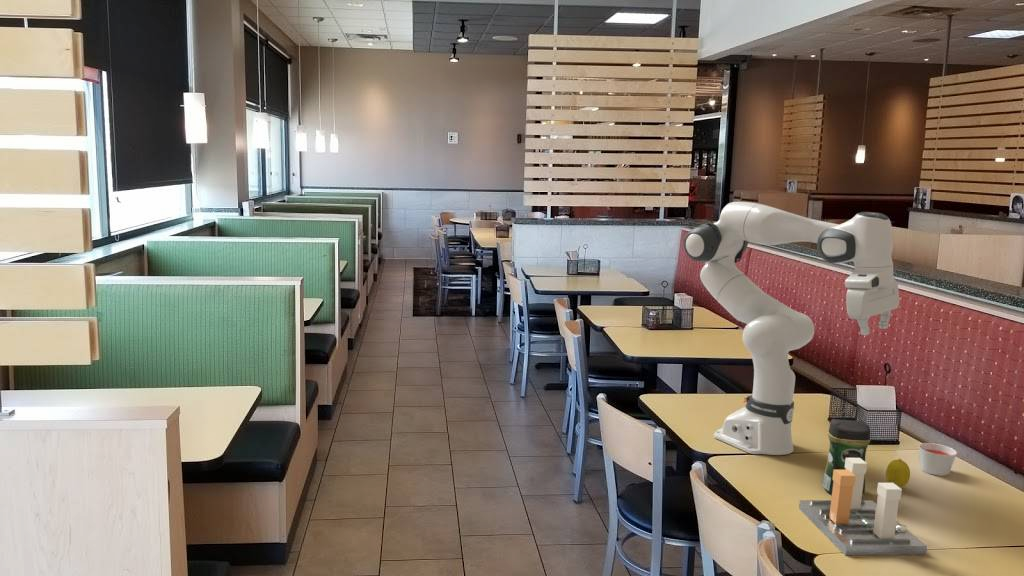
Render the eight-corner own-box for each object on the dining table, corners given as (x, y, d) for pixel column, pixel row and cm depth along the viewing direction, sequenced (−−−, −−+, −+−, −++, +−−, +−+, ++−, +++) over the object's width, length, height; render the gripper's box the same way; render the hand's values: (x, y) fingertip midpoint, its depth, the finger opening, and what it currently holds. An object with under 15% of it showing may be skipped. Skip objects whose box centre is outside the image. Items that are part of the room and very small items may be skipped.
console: (845, 555, 167) (846, 541, 166) (798, 508, 188) (800, 496, 188) (925, 554, 168) (927, 541, 168) (870, 508, 190) (872, 496, 190)
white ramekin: (917, 474, 213) (920, 451, 211) (914, 462, 221) (917, 440, 220) (955, 480, 209) (958, 457, 208) (951, 468, 218) (954, 446, 216)
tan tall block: (835, 524, 176) (841, 475, 174) (827, 517, 179) (833, 469, 177) (849, 524, 176) (855, 475, 174) (842, 517, 179) (848, 469, 177)
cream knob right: (880, 539, 170) (886, 489, 168) (871, 531, 173) (878, 482, 171) (895, 539, 170) (902, 489, 168) (886, 531, 173) (893, 482, 171)
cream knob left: (847, 509, 183) (853, 463, 181) (840, 503, 187) (845, 457, 185) (861, 509, 184) (867, 463, 182) (853, 503, 187) (859, 457, 185)
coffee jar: (857, 486, 203) (866, 417, 199) (867, 499, 195) (876, 427, 192) (818, 483, 204) (826, 414, 200) (826, 496, 196) (835, 424, 193)
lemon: (910, 494, 199) (914, 464, 198) (887, 491, 200) (891, 461, 199) (904, 485, 204) (908, 456, 203) (881, 482, 205) (885, 453, 204)
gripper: (881, 271, 207) (882, 323, 209) (841, 281, 194) (842, 337, 196) (905, 272, 202) (906, 325, 204) (866, 282, 189) (867, 339, 191)
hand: (874, 331), depth 200 cm, fingers open, 8 cm apart
